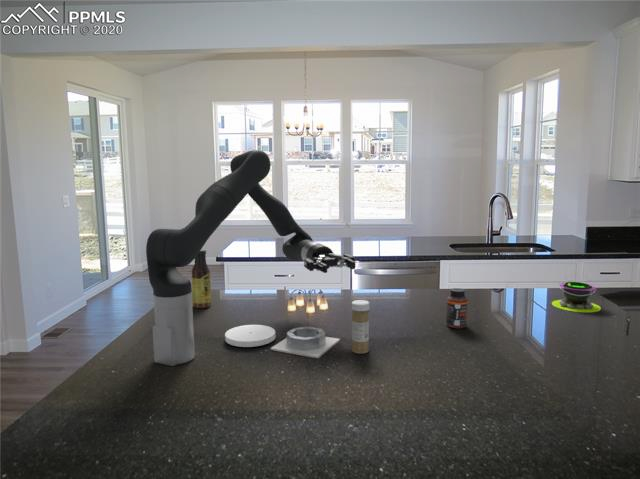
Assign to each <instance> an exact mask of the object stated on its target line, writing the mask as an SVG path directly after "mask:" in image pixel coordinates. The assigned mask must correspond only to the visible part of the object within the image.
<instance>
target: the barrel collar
mask: <svg viewBox="0 0 640 479" xmlns="http://www.w3.org/2000/svg"><path fill="white" fill-rule="evenodd" d="M326 334H327V333H326V331H324V330H323V329H322V328H321V327H313V326H309V325H308V326H300V327H293V328H292V329H290V330H288V331H287V332H286V338H287V344H288V345H289V347H290V348H292V349H298V350H303V351H306V350H313V349H319V348H321V347H322V346H323V345H324V344H326V337H327V336H326Z"/></svg>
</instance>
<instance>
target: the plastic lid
mask: <svg viewBox="0 0 640 479" xmlns="http://www.w3.org/2000/svg"><path fill="white" fill-rule="evenodd" d="M276 337H277V336H276V330H275V329H274V328H273V327H271V326H268V325H264V324H244V325H240V326H235V327H233V328H230V329H228V330H227V331H226V332H225V333H224V340H225V342H226V343H227V344H229V345H230V346H234V347H239V348H241V347H242V348H252V347H260V346H264V345H267V344H271V343H272V342H273V341H274V340H275V339H276Z"/></svg>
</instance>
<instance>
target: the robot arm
mask: <svg viewBox="0 0 640 479" xmlns="http://www.w3.org/2000/svg"><path fill="white" fill-rule="evenodd" d="M229 168H230V172H231V173H228V174H227V175H225V176H223V177H222V178H220V179H218V180H217V181H215V182H213V183H212V184H211V185H210V186H208V187H207V189H205V190H204V192H203V193H201V194H200V196H199V197H198V198H197V200H196V202H195V210H194V212H195V214H194V215H195V216H194V218H193V219H192V220H191V221H190V223H188V224H187V225H186V226H185V227H182V228H181V229H174V228H157V229H155V230H153V231H152V232H151V233H150V234H149V236H148V238H147V240H146V246H145V251H146V252H145V254H146V265H147V271H148V272H147V273H148V280H149V284H150V286H151V287H152V294H153V308H154V309H153V310H154V311H153V312H154V325H152V343H153V357H154V362H153V363H157V364H161V365H165V366H171V367H174V366H176V365H181V364H185V363H188V362H191V361H192V360H193V359H194V358H195V356H196V353H195V352H196V351H195V350H196V349H195V332H194V330H195V329H194V315H193V314H194V311H193V298H192V281H191V280H190V279H189V278H188V277H186V276H184V275H182V273H180V271H179V270H178V268H184V267H186V266H189V264H191V263H192V262H193V261H195V257H196V256H197V255H198V253H199V252H200V250H201V249H203V247H204V246H205V245H206V243H207V241H208V240H209V238H210V237H211V236H212V235H213V233H214V232H215V231H217V229H218V228H219V227H220V225H221V224H222V223H223V222H224V221H225V220H226V219H227V218H228V217H229V216H230V215H231V213H232V212H234V210H235V208H237V206H238V205H239V204H240V203H241V202H242V201H243V199H244V198H245V197H246V196H247V195H248V196H249V197H250V198H251V200H253V201H254V203H255V204H256V205H257V206H258V207H259V208H260V209H261V211H262V212H263V213H264V214H265V216H266V217H267V219H268V221H269V222H270V224H271V225H272V227H273V228H274V230H275V232H276V233H277V235H279V236H280V237H287V236H289V235H292V234H294V235H293V236H292V237H290V238H289V239H288V240H286V241H285V242H283V244H282V248H281V250H282V253H283V255H284V257H286V258H287V259H289V260H290V261H294V262H303V267H305V268H306V269H307V270H308V271H309V272H314V271H315V270H316V272H317V271H318V272H319V271H320V272H322V273H324V274H326V273H328V269H329V268H335V267H336V268H343V267H347V268H349V269H351V270H355V269H356V261H355V260H356V256H353V255H350V254H349V253H346V252H343V253H342V254H336V253H334V252H333V250H332V248H331V247H329V246H326V245H324V244H322V243H319V242H316V241H314V240H313V238H312V237H311V235H310V234H309V233H307V232H306V231H305V230H304V229H303V228H302V227H301V226H300V225H299V224H298V223H297V221H295V218H294V217H293V215H292V213H291V212H290V210H289V209H288V208H287V206H286V205H285V204H284V203H283V202H282V201H281V200H279V199H278V198H276V197H275V196H273V195H272V194H271V193H270V192H269V191H267V190H266V189H265V188H264V187H262V185H260V182H262V181H263V180H265V178H266V177H267V176H268V175H269V173H270V170H271V159H270V157H269V155H268V154H267V153H266V152H265V151H264V150H259V149H252V150H249V151H247V152H244V153H240V154H238V155H236V156H234V157H232V159H231V161H230V167H229Z"/></svg>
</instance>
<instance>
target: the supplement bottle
mask: <svg viewBox="0 0 640 479" xmlns="http://www.w3.org/2000/svg"><path fill="white" fill-rule="evenodd" d="M465 290H466V289H463V288H451V289H450V294H449V295H448V296H447V297H446V298H447V300H446V317H445V318H446V323H445V324H446V326H447V327H448V328H452V329H456V330H457V329H459V330H460V329H464V328H466V327H467V322H468V321H467V320H468V298H467V296H466V295H465V292H466V291H465Z"/></svg>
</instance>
